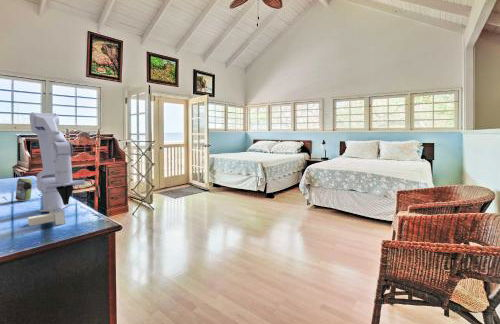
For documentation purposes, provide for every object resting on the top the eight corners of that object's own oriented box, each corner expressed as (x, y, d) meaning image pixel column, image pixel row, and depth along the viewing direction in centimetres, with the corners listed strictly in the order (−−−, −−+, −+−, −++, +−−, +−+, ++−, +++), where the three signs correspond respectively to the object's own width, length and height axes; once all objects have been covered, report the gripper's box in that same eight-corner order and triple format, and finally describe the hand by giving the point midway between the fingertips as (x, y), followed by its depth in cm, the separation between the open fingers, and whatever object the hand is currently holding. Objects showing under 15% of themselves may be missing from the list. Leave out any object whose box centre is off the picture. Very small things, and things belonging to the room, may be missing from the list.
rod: (29, 226, 102) (28, 219, 102) (28, 224, 104) (27, 217, 104) (64, 220, 110) (63, 213, 110) (62, 218, 112) (61, 211, 112)
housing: (49, 217, 113) (48, 206, 112) (58, 215, 115) (57, 204, 114) (56, 225, 103) (55, 213, 102) (65, 223, 105) (64, 211, 104)
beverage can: (15, 200, 140) (12, 177, 139) (33, 198, 146) (31, 176, 144) (16, 202, 136) (13, 179, 135) (34, 200, 141) (32, 177, 140)
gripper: (42, 174, 101) (45, 209, 103) (86, 170, 111) (88, 202, 113) (39, 172, 106) (42, 206, 108) (81, 169, 116) (84, 199, 118)
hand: (65, 204), depth 111 cm, fingers closed
